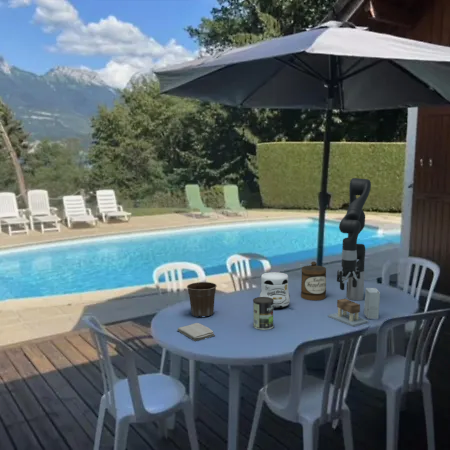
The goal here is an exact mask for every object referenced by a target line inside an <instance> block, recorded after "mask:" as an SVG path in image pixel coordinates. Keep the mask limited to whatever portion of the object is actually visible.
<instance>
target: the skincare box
mask: <svg viewBox="0 0 450 450" xmlns="http://www.w3.org/2000/svg"><path fill="white" fill-rule="evenodd" d="M364 294H365V295H364V307H363V308H364V309H363V315H364V316H365V317H366V318H367V320H368V319H369V320H370V319H371V320H379V316H380V315H379V313H380V300H381V299H380V298H381V292H380V291H379V290H378V289H377V288H376V287H365V290H364Z"/></svg>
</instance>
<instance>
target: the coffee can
mask: <svg viewBox="0 0 450 450" xmlns="http://www.w3.org/2000/svg"><path fill="white" fill-rule="evenodd" d="M273 301H274V300H273V299H272V298H269V297H260V296H258V297H254V298H253V299H252V302H253V306H252V307H253V311H252V312H253V319H252V321H253V328H254V329H257V330H260V331H261V330H262V331H265V330H271V329H273V328H274V308H273Z"/></svg>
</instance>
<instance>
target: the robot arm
mask: <svg viewBox="0 0 450 450" xmlns="http://www.w3.org/2000/svg"><path fill="white" fill-rule="evenodd" d="M371 187H372V182H371V180H370V179H369V178H360V177H359V178H357V177H353V178H351V179H350V181H349V189H348V191H349V193H348V194H349V205H348V207H347V210H346V211H347V212H346V213H345V215H344V216H343V218H342V219H341V220H340V223H339V225H338V229H339V231H340V232H341V233H343V234H347V237H345V238H343V239H342V249H341V251H342V252H341V267H342V268H341V270H339V269H338V270H337V273H336V274H337V275H336V282H337V283H339V289H340V290H341V291H345V282H346V293H345V295H346V299H347V300H350V301H362V300H364V298H365V295H364V294H365V259H366V245H365V244H364V243H358V237H359V234H360V233H361V232H362V231H363V230H364V228H365V226H366V214H365V211H364V209H363V208H364V206H365V204H366V201H367V199H368V198H369V195H370V192H371ZM357 196H358V197H357ZM346 280H347V281H346Z"/></svg>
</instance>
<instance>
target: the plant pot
mask: <svg viewBox="0 0 450 450" xmlns="http://www.w3.org/2000/svg"><path fill="white" fill-rule="evenodd" d="M217 287H218V286H217V284H216V283H214V282H208V281H199V282H193V283H190V284H188V285H187V286H186V288H187V292H188V293H187V294H188V296H189V304H190V311H191V313H190V314H191V316H193V315H194V316H193V317H195V316H200V317H201V316H209V315H211V316H213V315H214V313H215V296H216V295H215V294H216V288H217ZM212 314H213V315H212ZM209 317H210V316H209Z"/></svg>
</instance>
